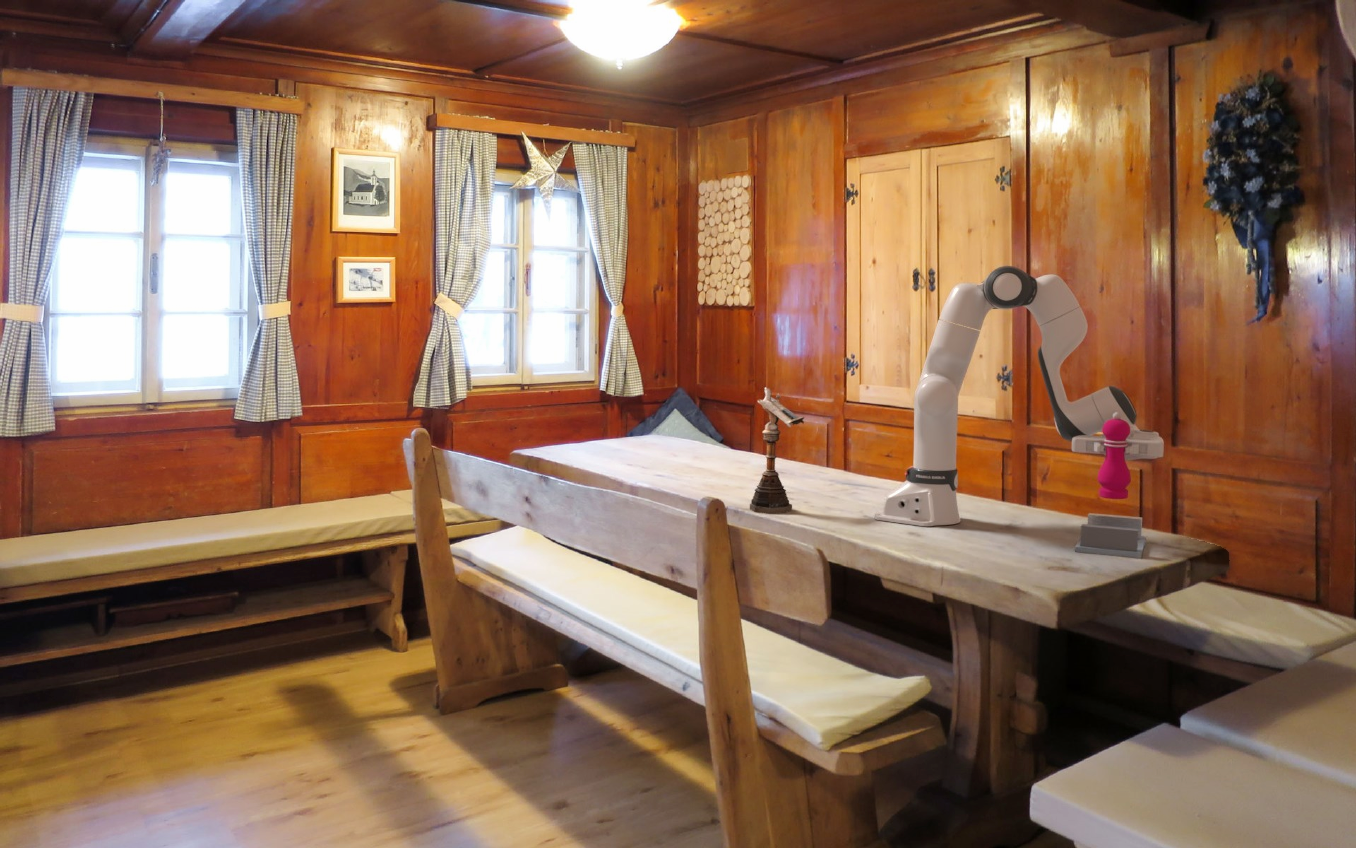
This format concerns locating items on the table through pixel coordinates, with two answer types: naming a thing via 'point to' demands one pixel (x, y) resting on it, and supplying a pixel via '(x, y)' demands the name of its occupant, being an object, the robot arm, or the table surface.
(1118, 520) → the sliding jaw
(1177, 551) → the table surface
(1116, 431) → the pepper mill
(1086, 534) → the vise
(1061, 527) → the table surface
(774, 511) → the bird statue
